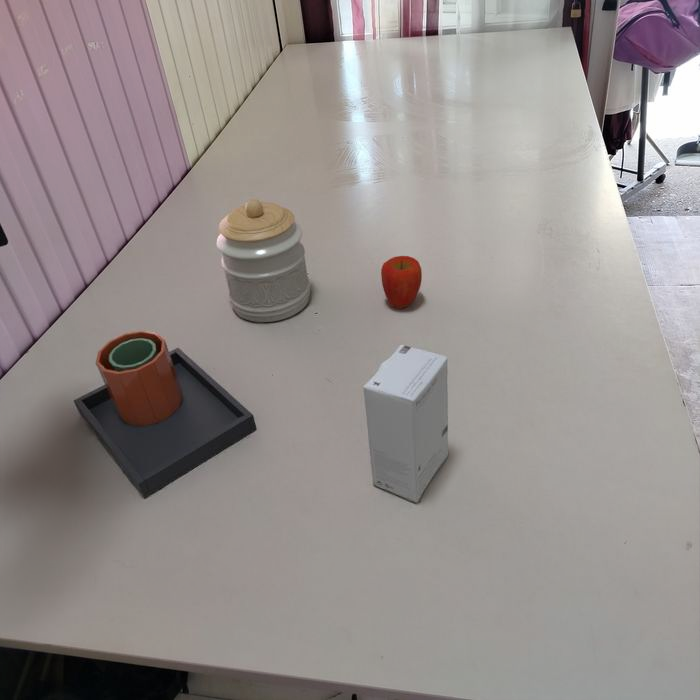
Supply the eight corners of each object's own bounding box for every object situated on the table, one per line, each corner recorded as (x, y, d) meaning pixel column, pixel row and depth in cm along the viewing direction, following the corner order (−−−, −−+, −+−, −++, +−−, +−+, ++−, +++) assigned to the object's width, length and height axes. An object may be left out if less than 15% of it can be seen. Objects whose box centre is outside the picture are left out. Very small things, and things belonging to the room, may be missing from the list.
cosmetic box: (417, 505, 69) (414, 405, 60) (369, 485, 72) (359, 386, 63) (449, 453, 74) (451, 355, 65) (404, 436, 77) (399, 339, 68)
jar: (323, 309, 100) (309, 206, 89) (243, 333, 97) (219, 229, 86) (296, 272, 110) (281, 174, 99) (223, 292, 106) (199, 194, 95)
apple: (419, 315, 97) (419, 273, 92) (379, 313, 98) (377, 271, 93) (424, 292, 101) (423, 251, 97) (386, 291, 103) (384, 250, 98)
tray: (144, 498, 73) (138, 484, 71) (80, 414, 85) (73, 400, 84) (256, 429, 80) (253, 414, 79) (182, 361, 93) (178, 347, 91)
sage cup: (141, 421, 81) (122, 373, 77) (120, 399, 85) (100, 353, 80) (180, 398, 84) (164, 351, 79) (158, 378, 88) (141, 332, 83)
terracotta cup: (135, 436, 80) (113, 382, 75) (108, 403, 86) (85, 351, 80) (193, 403, 84) (176, 350, 79) (164, 374, 89) (146, 323, 84)
